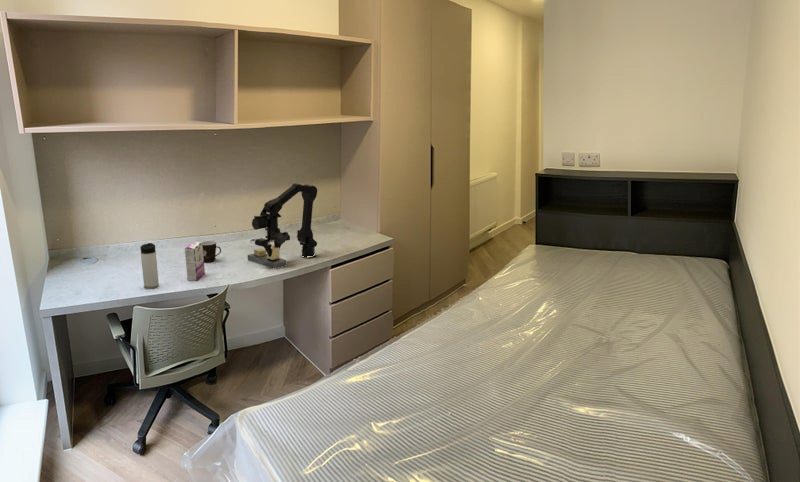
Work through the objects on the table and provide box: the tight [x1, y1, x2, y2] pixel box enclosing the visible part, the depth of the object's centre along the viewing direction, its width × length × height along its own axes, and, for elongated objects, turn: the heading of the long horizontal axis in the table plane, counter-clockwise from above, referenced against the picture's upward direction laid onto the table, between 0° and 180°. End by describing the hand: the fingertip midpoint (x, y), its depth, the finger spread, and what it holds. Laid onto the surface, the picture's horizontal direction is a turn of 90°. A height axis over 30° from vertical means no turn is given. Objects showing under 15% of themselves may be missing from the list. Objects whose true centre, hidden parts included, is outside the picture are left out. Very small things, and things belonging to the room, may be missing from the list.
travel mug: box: [139, 242, 160, 290], centre depth 266 cm, size 6×7×20 cm
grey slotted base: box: [247, 252, 287, 270], centre depth 307 cm, size 8×22×3 cm, turn 51°
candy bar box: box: [184, 241, 206, 282], centre depth 281 cm, size 11×5×16 cm, turn 179°
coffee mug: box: [201, 240, 222, 264], centre depth 306 cm, size 12×9×10 cm
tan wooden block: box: [266, 245, 281, 260], centre depth 303 cm, size 4×4×6 cm
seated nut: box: [253, 248, 267, 257], centre depth 310 cm, size 4×4×6 cm
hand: (273, 255), depth 303 cm, fingers closed on tan wooden block, 4 cm apart
